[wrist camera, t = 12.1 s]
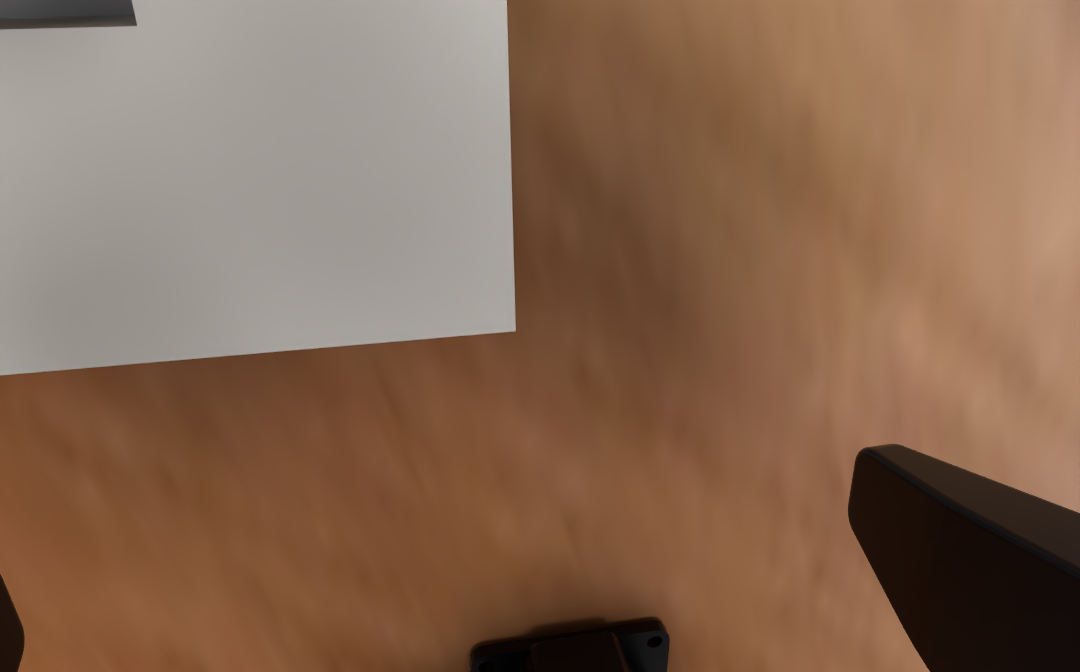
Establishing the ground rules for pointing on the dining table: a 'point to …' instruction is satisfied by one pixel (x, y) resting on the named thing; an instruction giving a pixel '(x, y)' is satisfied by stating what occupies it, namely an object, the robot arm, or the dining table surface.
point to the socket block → (250, 177)
